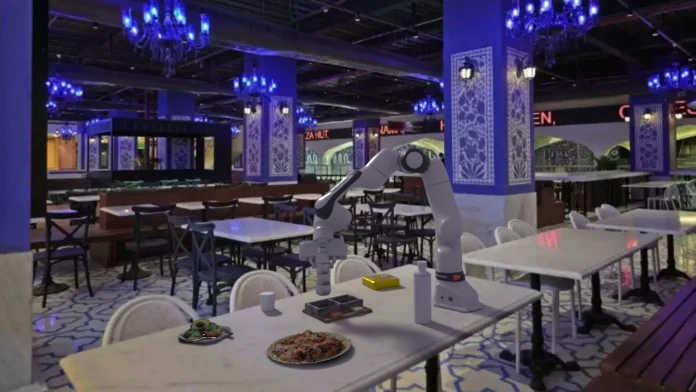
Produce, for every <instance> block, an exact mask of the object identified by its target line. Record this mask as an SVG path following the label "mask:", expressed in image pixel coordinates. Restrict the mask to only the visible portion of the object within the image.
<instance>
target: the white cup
mask: <svg viewBox="0 0 696 392" xmlns="http://www.w3.org/2000/svg"><path fill="white" fill-rule="evenodd" d="M258 294H259V302H260V309H261V310H260V311H262V312H270V311H271V312H272V311H273V310H275V306H276V305H275V304H276V302H275V301H276V291H271V290H267V291H261V292H260V293H258Z"/></svg>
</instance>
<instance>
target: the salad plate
mask: <svg viewBox="0 0 696 392" xmlns="http://www.w3.org/2000/svg"><path fill="white" fill-rule="evenodd" d="M189 327H190V328H188V329H187V330H185V331H182V332H180V333H178V335H177V338H178V340H180V341H181V340H182V341H181V342H183V341H186V342H185V343H189V342H196V343H195V344H203V343H206V344H211V343H210V342H213V343H216V342H215V341H217V342H219V341H221V340H223V339H224V337H225V338H227V337H228V336H233V335H234V332H233V331H232V328H231V326H228V325H220V324H217V323H216V322H212V321H211V320H210V319H208V318H198V319H196V320H194V321H191V323H190V325H189ZM203 334H205V335H203ZM226 336H227V337H226ZM203 337H210V338H211V337H216V338H215V339H213V338H211V339H210V338H209V339H203V340H202V339H201V338H203ZM222 338H223V339H222ZM196 339H201V340H197V341H193V340H196ZM220 339H221V340H220ZM218 340H219V341H218ZM187 341H188V342H187Z"/></svg>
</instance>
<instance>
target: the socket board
mask: <svg viewBox="0 0 696 392" xmlns="http://www.w3.org/2000/svg"><path fill="white" fill-rule="evenodd" d="M301 310H302V311H301V312H302V313H304V314H306V315H308V316H310V317H312V318H314V319H316V320H318V321H321V322H322V323H324V324H328V323H331V322H332V323H333V322H336V321H340V320H343V319H347V318H351V317H355V316H360V315H364V314H368V313H372V312H373V309H372V308H370V307H368V306H365V305H364V299H363V298H361V297H358V296H354V295H352V294H349V293H346V294H342V295H341V294H340V295H337V296H336V295H335V296H332V297H327V298H323V299H318V300H314V301H309V302H304V309H301Z"/></svg>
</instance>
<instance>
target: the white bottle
mask: <svg viewBox="0 0 696 392" xmlns="http://www.w3.org/2000/svg"><path fill="white" fill-rule="evenodd" d="M416 262H417V270H415V271H414V273H413V321H414V323H415V322H416V323H415V324H418V323H419V324H418V325H429V324H431V323H430V322H432V273H431V272H430V271H429V270H427V267H428V261H427V260H417V261H416ZM428 323H429V324H428Z"/></svg>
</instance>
